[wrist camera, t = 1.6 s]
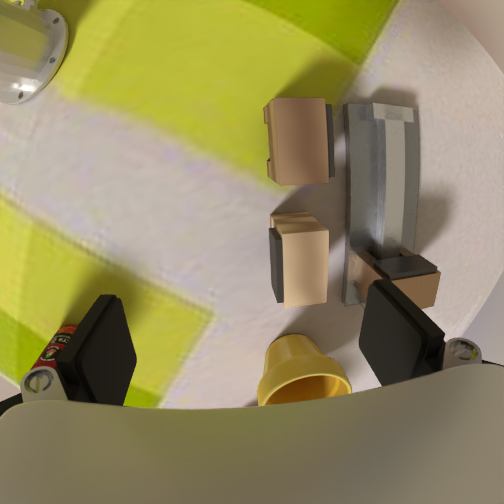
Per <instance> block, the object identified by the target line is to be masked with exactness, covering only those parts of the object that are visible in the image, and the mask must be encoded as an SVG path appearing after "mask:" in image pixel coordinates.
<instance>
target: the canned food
mask: <svg viewBox="0 0 504 504" xmlns="http://www.w3.org/2000/svg"><path fill="white" fill-rule="evenodd" d="M77 327H78V326H75V325H67V326H64V327H62V328H61V329H59V330H58V331H57V332H56V334H55V335H54V336H53V338H52V339H51V341H50V342H49V343H48V345H47V346H46V348H45V349H44V351H43V352H42V353H41V355H40V356H39V358H38V359H37V361H36V362H35V364H34V365H33V367H32V368H31V370H32V369H34V368H37V367H41V366H47V367H51V368H53V369H54V368H55V366H56V361H55V360H56V359H57V357H58V355H59V354H60V352H61V351H62V349H63V348H64V346H65V345H66V343H67V342H68V340H69V339H70V337H71V336H72V334H73V333H74V331H75V330H76V328H77Z"/></svg>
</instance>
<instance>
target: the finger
mask: <svg viewBox="0 0 504 504" xmlns="http://www.w3.org/2000/svg"><path fill="white" fill-rule="evenodd" d="M263 110H264V124H268V135H269V151H270V161H267V170H268V177H269V178H271V179H272V180H274V181H275V182H276V183H278V184H279V185H280V186H281V185H298V184H319V183H329V177H335V166H334V138H333V119H332V105H329V104H325V98H301V97H283V98H274V99H273V100H272V101H271V102H270V103H269V104H268V105H266V106H265V107H264V108H263Z"/></svg>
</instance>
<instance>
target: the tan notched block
mask: <svg viewBox="0 0 504 504" xmlns="http://www.w3.org/2000/svg"><path fill="white" fill-rule="evenodd" d="M270 224H271V228H269V239H270V260H271V281H272V288H273V291H274V294H275V297H276V300H277V303H283V305H284V308H290V307H298V306H306V305H313V304H320V303H326V301H327V282H328V254H329V230H328V229H327V228H326V227H325V226H323V225H322V224H321V223H320V222H319V221H318V220H316V219H315V218H314V217H313V216H312V215H311V214H309V213H308V212H297V213H283V214H271V215H270Z"/></svg>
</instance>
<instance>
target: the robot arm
mask: <svg viewBox="0 0 504 504" xmlns="http://www.w3.org/2000/svg"><path fill="white" fill-rule="evenodd" d="M38 5H39V4H38V3H37V0H24V4H23V5H22V6H21V1H15V2H11V1H9V0H0V102H1V103H5V104H12V105H14V104H20V103H23V102H26V101H28V100H29V99H31V98H33V97H34V96H35V95H37V94H38V93H39V92H40V91H41V90H42V89H43V88H44V87H45V86H46V85H47V84H48V83H49V81H50V80H51V79H52V77H53V76H54V75H55V73H56V71H57V69H58V68H59V66H60V64H61V62H62V60H63V57H64V55H65V52H66V49H67V45H68V39H69V29H68V25H67V22H66V20H65V18H64V17H63V16H62V15H61V14H60V13H58V12H56V11H55V10H52V9H40V10H39V9H38ZM444 336H445V333H444V332H443V331H442V330H441V329H440V328H439V327H438V326H437V325H436V324H435V323H434V322H433V321H432V320H431V319H430V318H429V317H428V316H427V315H426V314H425V313H424V312H423V311H422V310H421V309H420V308H419V307H418V306H417V305H416V304H415V303H414V302H413V301H412V300H411V299H410V298H409V297H408V296H406V295H405V294H404V293H403V292H402V291H401V290H400V289H399V288H398V287H397V286H396V285H395V284H394V283H393V282H391V281H390V280H389V279H379V280H374V281H373V283H372V284H370V285H369V287H368V293H367V299H366V305H365V311H364V317H363V322H362V327H361V332H360V337H359V348H360V350H361V352H362V353H363V355H364V357H365V358H366V360H367V362H368V363H369V365H370V367H371V368H372V370H373V372H374V373H375V375H376V377H377V378H378V380H379V382H380V384H381V385H382V387H378V388H373V389H369V390H364V391H360V392H355V393H350V394H344V395H339V396H333V397H328V398H321V399H315V400H308V401H301V402H293V403H285V404H275V405H265V406H253V407H238V408H214V409H167V408H144V407H129V406H123V403H124V400H125V397H126V394H127V391H128V388H129V384H130V381H131V378H132V375H133V372H134V369H135V366H136V363H137V357H136V353H135V349H134V346H133V343H132V339H131V336H130V332H129V328H128V325H127V321H126V317H125V313H124V309H123V305H122V301H121V299H120V298H117V297H116V295H100V296H99V297H98V299H97V300H96V301H95V303H94V304H93V305H92V307H91V308H90V310H89V311H88V312H87V314H86V315H85V317H84V318H83V320H82V321H81V322H80V324H79V325H78V327H77V328H76V330H75V331H74V333H73V334H72V336H71V337H70V339H69V340H68V342H67V343H66V345H65V346H64V348H63V349H62V351H61V352H60V354H59V355H58V357H57V359H56V360H55V361H56V366H55V368H54V369H53V368H51V367H47V366H41V367H37V368H34V369H32V370H30V371H29V372H28V373H26V374H25V375H24V377H23V378H22V380H21V383H20V389H21V393H19V394H17V395H15V396H13V397H10V398H8V399H6V400H4V401H1V402H0V504H504V366H503V365H500V364H496V363H492V362H488V361H484V360H482V355H481V350H480V348H479V347H478V346H477V345H476V344H475V343H474V342H472V341H470V340H468V339H464V338H452V339H450V340H448V341H447V342H445V341H444V340H443V339H444Z"/></svg>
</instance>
